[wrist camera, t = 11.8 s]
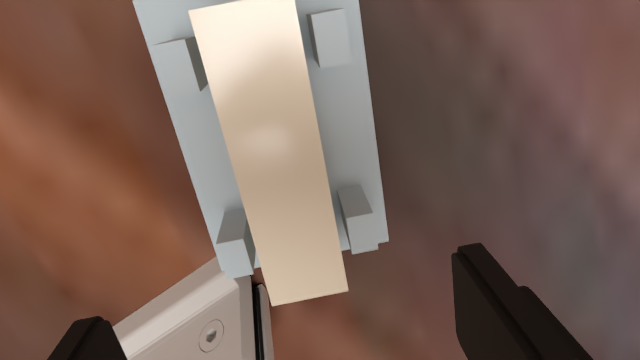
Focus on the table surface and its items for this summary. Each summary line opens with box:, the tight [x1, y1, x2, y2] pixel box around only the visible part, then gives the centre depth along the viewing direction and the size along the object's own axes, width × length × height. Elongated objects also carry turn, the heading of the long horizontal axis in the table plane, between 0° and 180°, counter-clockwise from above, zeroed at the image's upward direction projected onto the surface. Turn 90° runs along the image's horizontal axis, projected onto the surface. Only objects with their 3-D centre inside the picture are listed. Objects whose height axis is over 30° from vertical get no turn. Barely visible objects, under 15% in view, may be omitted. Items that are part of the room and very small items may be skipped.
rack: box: [133, 0, 389, 279], centre depth 24 cm, size 18×12×6 cm, turn 10°
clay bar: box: [188, 0, 348, 306], centre depth 23 cm, size 16×4×6 cm, turn 10°
